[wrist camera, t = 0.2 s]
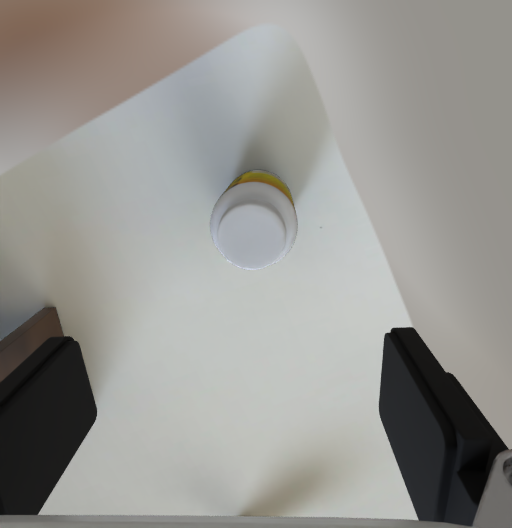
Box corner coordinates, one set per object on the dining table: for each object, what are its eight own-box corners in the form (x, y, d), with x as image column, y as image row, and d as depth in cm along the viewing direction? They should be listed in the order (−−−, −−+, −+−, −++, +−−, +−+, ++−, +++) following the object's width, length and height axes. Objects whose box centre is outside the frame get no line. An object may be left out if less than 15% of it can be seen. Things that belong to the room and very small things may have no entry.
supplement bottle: (241, 157, 28) (225, 170, 19) (303, 186, 29) (318, 214, 19) (215, 219, 30) (188, 260, 20) (274, 245, 31) (274, 297, 21)
